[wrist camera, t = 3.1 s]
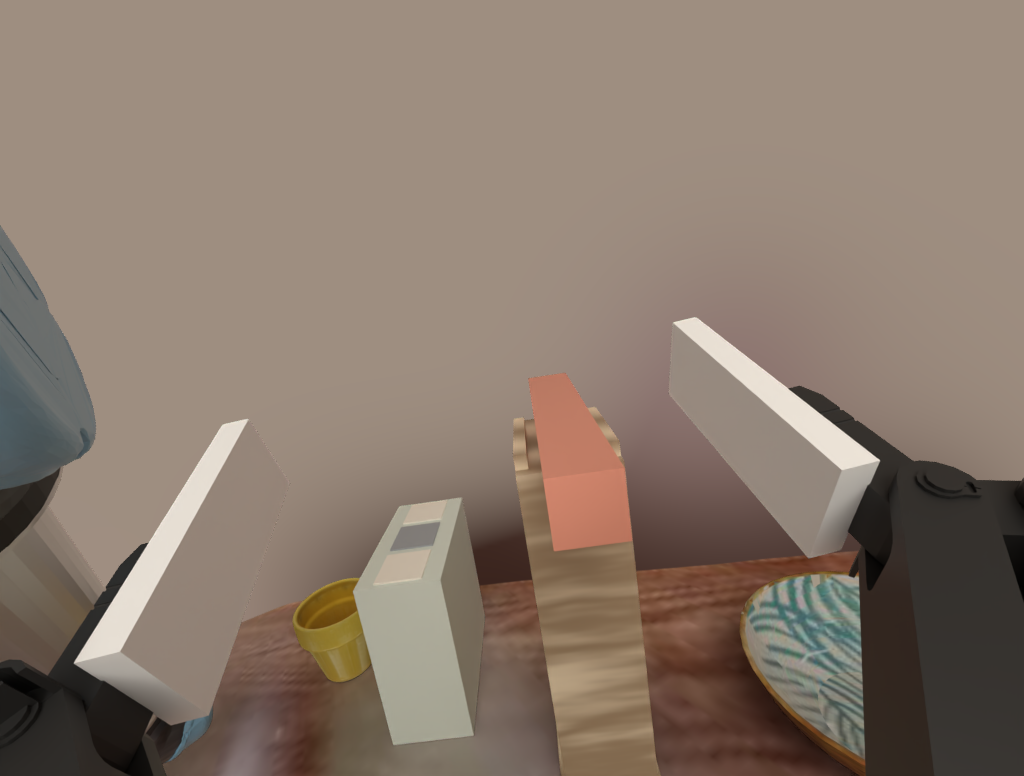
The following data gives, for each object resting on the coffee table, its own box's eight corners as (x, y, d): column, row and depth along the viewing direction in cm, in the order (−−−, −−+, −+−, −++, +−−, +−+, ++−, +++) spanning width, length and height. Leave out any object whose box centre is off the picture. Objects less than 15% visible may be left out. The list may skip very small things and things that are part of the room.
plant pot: (319, 645, 65) (302, 588, 63) (390, 625, 67) (376, 569, 65) (302, 706, 55) (281, 641, 53) (385, 680, 57) (369, 616, 55)
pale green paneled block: (473, 735, 48) (440, 577, 44) (393, 745, 48) (352, 589, 44) (485, 616, 65) (461, 496, 61) (426, 624, 66) (399, 505, 62)
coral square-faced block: (632, 541, 22) (624, 467, 21) (553, 551, 22) (543, 479, 21) (570, 408, 47) (565, 372, 47) (533, 413, 48) (528, 378, 47)
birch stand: (669, 813, 38) (631, 447, 31) (566, 824, 39) (506, 464, 31) (626, 669, 53) (594, 397, 46) (552, 678, 53) (509, 410, 46)
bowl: (720, 775, 40) (715, 705, 39) (760, 603, 60) (758, 551, 58) (1191, 1011, 25) (1217, 912, 24) (1041, 677, 45) (1049, 609, 43)
